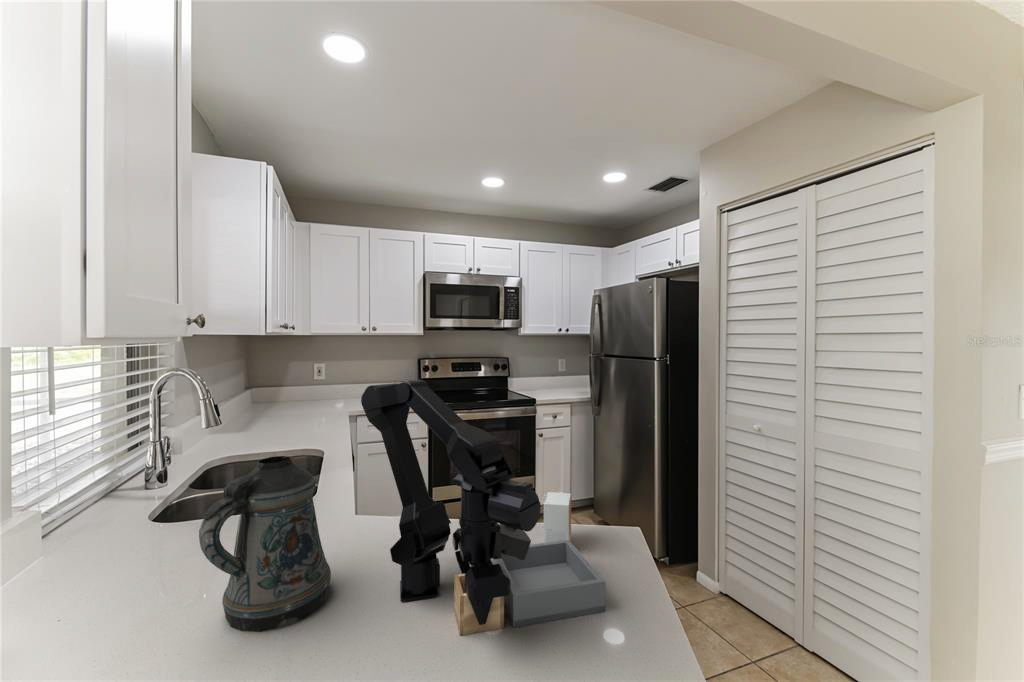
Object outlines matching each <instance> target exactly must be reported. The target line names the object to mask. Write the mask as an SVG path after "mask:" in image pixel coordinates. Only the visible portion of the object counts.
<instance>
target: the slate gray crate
mask: <svg viewBox="0 0 1024 682" xmlns="http://www.w3.org/2000/svg"><path fill="white" fill-rule="evenodd" d="M491 561H492V564H500V565H501V566H502V567H503V568H504V569H505V570H506V572H507V574H508V576H509V578H510V594H509V595H508V596H504V609H505V610H506V611H505V612H506V613H507V615H508V617H509V619H510V623H511V625H512V627H513V628H518V627H524V626H525V627H526V626H529V625H530V626H531V625H536V624H541V623H547V622H552V621H558V620H564V619H565V620H566V619H569V618H576V617H581V616H587V615H593V614H597V613H604V612H606V581H605V579H604V578H603V577H602V576H601V574H599V573H598V571H597V570H596V569H595V568H594V567H593V565H591V564H590V563H589V561H588V560H587V559H586V558H585V557H584V555H583V554H582V553H581V552H580V551H579V550H578V549H577V547H575V545H574V544H573V543H572V541H571V542H570V541H569V540H564V541H556V542H548V543H544V542H541V543H532V544H530V546H529V549H528V552H527V555H526V558H525V560H519V559H518V558H517V557H512V556H508V555H505V554H502V553H501V559H493V558H491Z"/></svg>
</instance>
